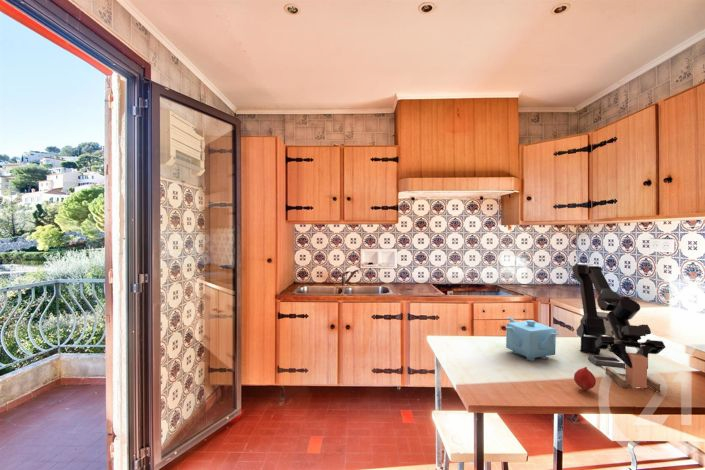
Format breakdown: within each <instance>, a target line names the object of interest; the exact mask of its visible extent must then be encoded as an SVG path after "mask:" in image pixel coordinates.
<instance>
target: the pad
mask: <svg viewBox="0 0 705 470" xmlns="http://www.w3.org/2000/svg"><path fill="white" fill-rule="evenodd" d="M600 367H601V368H602V369H603V370H606V367H608V366H600ZM610 368H611V369H612V370H614V371H615V372H616V373H618V374H619V375H620V376H626V368H618V367H610Z"/></svg>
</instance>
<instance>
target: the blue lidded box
mask: <svg viewBox="0 0 705 470" xmlns="http://www.w3.org/2000/svg"><path fill="white" fill-rule="evenodd" d="M507 319H508V320H509V322H507V323H506V326H505V329H506V337H505V339H506V340H505V341H506V342H505V343H506V344H505V348H506V349H509V350H511V351H512V354H515V355H521V356H523V357H526V360H528V361H531V362H535V358H540V359H545V360H548V359H549V358H548V356H554V355H556V346H557V345H556V343H557V341H556V340H557V335H559V333H558V332H557V329H556V328H555V327H553V326H552V327H551V326H549V325H546V324H543V323H540V322H536V321H535V320H533V319H526V320H524V321H516V320H515V319H514V318H512V317H510V316H507Z"/></svg>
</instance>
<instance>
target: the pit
mask: <svg viewBox="0 0 705 470" xmlns="http://www.w3.org/2000/svg"><path fill="white" fill-rule="evenodd" d="M587 355H588V357H587V359H588V361H590V363H592V364H593V365H594V366H598V367H599V366H600V367H601V366H608V367H618V368H623V369H626V364H625V363H624V362H623V361H622V360H621V359H620V358H619V357H618V356H607V355H596V354H587Z"/></svg>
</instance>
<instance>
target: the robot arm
mask: <svg viewBox="0 0 705 470" xmlns="http://www.w3.org/2000/svg"><path fill="white" fill-rule="evenodd" d="M571 269H572V272H573V275H574V276H573V277H574V278H575V280H576V281H577V282H578V283H579V289H580V296H581V304H582V311H583V316H582V317H581V319H580V322H579V323H580V324H579V326H578V327H577V329H575V330H576V335H577V337H580V349H579V351H580V352H583V353H587V354H591V355H598V356H600V353H601V350H607V349H609V350H608V351H609V352H610V353H613V354H614V355H615V356H616V357H617V358H618V359H620V360H621V361H623V362H624V363H625V364H626V365H627V366H629V367H630V368H632V367H633V366H632V363H631V361H630V358H629V356H628V354H627V353H628V352H627V349H626V348H635V349H636V350H637V351H636V352H635V353H637V354H641V355H643V356H645V357H646V358H648V359H649V354H650V355H658V354H659V353H660V352H662V351H663V350H664V349H666V345H665V343H664V342H663V341H662V340H660V339H655V338H654V339H652V338H648V339H646V340H645V341H644V342H642V341H640V340H641V339H642V337H647V336H648V335H651V333H652V330H651V328H650V327H649V325H648V324H639V325H633V324H631V323H630V321H629V320H632V319H633V318H634V317H635V315H637V313H638V312H639V311H640V310H641V306H640V304H639V303H638V302H637V301H636V300H634V299H632V298H630V296H629V295H628V296H627V295H622V296H620V294H619V293H617V292H616V291H614V290H613V289H612V287H611V285H610V284H609V282H608V280H607V278H606V277H605V275H604V272H603V269H602V266H600V265H597V264H596V265H595V264H593V263H582V262H581V263H579V262H577V263H575V264H574V265H573V266H572V268H571ZM594 289H595V290H594ZM595 291H596V292H597V295H598V296H597V299H596V297H595V296H596V295H595ZM596 302H597V303H596ZM597 305H598V306H597ZM597 307H598V308H599V309H600V310H601V311H603V312H607V313H608V314H607V317H606V319H605V320H606V321H609V323H610V325H611V328H612V331H611V333H612V334H614V335H615V338H616V339H614V337H613V336H607V335H605V333H606V329H605V326H604V320H603V319H602V318H600V317H599V316H598V315H597V312H598V311H597ZM608 345H609V346H610V348H608ZM648 369H649V362H648V363H647V370H648Z"/></svg>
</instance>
